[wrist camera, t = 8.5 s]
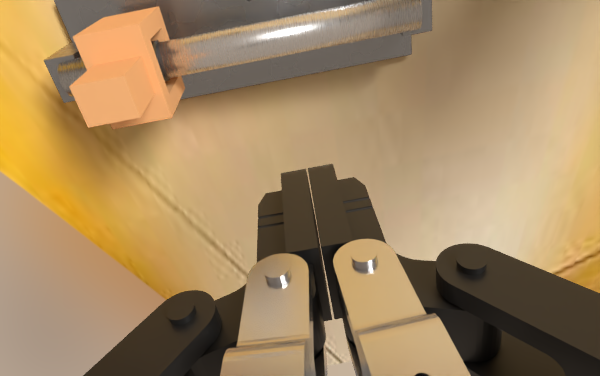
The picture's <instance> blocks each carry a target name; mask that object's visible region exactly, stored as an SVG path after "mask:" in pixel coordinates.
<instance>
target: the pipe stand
mask: <svg viewBox="0 0 600 376" xmlns="http://www.w3.org/2000/svg"><path fill="white" fill-rule="evenodd" d="M54 2H55V4H56V6H57V8H58V11H59V13H60V15H61V18H62V20H63V22H64V24H65V27H66V29H67V31H68V34H69V36H70V38H71V40H72V42H71V43H70V44H68V45H67V46H65V47H64V48H62V49H60V50H59V51H57V52H56V53H54V54H53V55H51V56H50V57H48V58H47V59H45V60H44V62H45V64H46V66H47V68H48V70H49V73H50V75H51V77H52V79H53V81H54V83H55V85H56V87H57V89H58V91H59V93H60V95H61V98H62V100H63V102H64V103H65V102H70V101H75V98H74V96H73V94H72V92H71V90H70V87H69V86H70V85H72V84H73V83H74V82H75V81H76V80H77V79H78V78H80V77H81V76H82V75H83V74H84V73H85V72H86V71H87V69H86V67H85V65H84V62H83V60H82V58H81V56H80V53H79V51H78V49H77V46H76V44H75V42H74V39H73V36H75V35H76V34H78V33H79V32H81V31H83V30H84V29H86V28H87V27H89V26H90V25H92V24H94V23H95V22H97V21H98V20H100V19H102V18H103V17H108V16H113V15H118V14H123V13H128V12H133V11H138V10H143V9H148V8H153V7H158V6H159V8H160V11H161V14H162V17H163V20H164V23H165V27H166V30H167V33H168V36H169V39H170V40H167V41H162V42H159V41H158V40H155V41H151V43H152V46H153V49H154V52H155V55H156V58H157V60H158V63H159V66H160V69H161V72H162V75H163V78H164V81H169V79H170V78H173V77H178V76H182V79H183V83H184V86H185V90H184V92H183V94H182V96H181V99H185V98H190V97H195V96H200V95H205V94H211V93H216V92H221V91H226V90H231V89H236V88H241V87H247V86H252V85H257V84H262V83H267V82H272V81H277V80H282V79H288V78H293V77H298V76H303V75H308V74H313V73H318V72H324V71H329V70H334V69H339V68H344V67H349V66H354V65H360V64H365V63H370V62H375V61H380V60H385V59H390V58H395V57H401V56H406V55H411V54H412V47H411V35H412V34H418V33H423V32H428V31H432V0H54Z"/></svg>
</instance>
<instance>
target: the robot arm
mask: <svg viewBox="0 0 600 376" xmlns="http://www.w3.org/2000/svg"><path fill="white" fill-rule="evenodd" d="M308 172H309V178H310V184H311V190H312V196H313V202H314V208H315V214H316V219H315V214H314V209H313V204H312V198H311V193H310V188H309V183H308V177H307V172H306V169H302V170H297V171H291V172H286V173H281V184H282V191H277V192H271V193H266V194H265V196H264V197H263V199H262V200H261V202H260V203H259V205H258V240H257V263H256V264H255V265H254V266H253V267H252V269H251V270H250V272H249V274H248V277H247V284H246V285H244V286H243V287H242V288H240V289H239V290H237V291H235V292H233V293H231V294H229V295H227V296H224V297H222V298H220V299H217V300H215V301H214V300H213V298H212V297H211V296H210V295H209V294H208V293H206V292H203V291H198V290H192V291H185V292H182V293H179V294H176V295H174V296H172V297H171V298H169V299H167V300H166V301H165V302H164V303H162V304H161V305H160V306H159V307H158V308H157V309H156V310H155V311H154V312H152V313H151V314H150V315H149V316H148V317H147V318H146V319H145V320H144V321H143V322H142V323H140V324H139V325H138V326H137V327H136V328H135V329H134V330H133V331H132V332H131V333H129V334H128V335H127V336H126V337H125V338H124V339H123V340H122V341H121V342H120V343H119V344H117V346H115V347H114V348H113V349H112V350H111V351H110V352H109V353H108V354H106V355H105V356H104V357H103V358H102V359H101V360H100V361H99V362H98V363H97V364H96V365H94V366H93V367H92V368H91V369H90V370H89V371H88V372H87V373H86V374H85V375H84V376H327V358H326V347H325V339H326V334H325V327H324V321H328V320H332V316H331V310H330V304H329V298H328V292H327V285H326V279H325V273H324V267H323V261H322V255H323V260H324V265H325V270H326V276H327V281H328V286H329V291H330V297H331V302H332V307H333V312H334V318H335V319H339V318H343V323H344V328H345V333H346V338H347V344H348V349H349V352H350V356H351V359H352V363H353V366H354V370H355V373H356V376H600V293H597V292H595V291H592V290H590V289H588V288H585V287H583V286H580V285H578V284H576V283H573V282H571V281H568V280H566V279H563V278H561V277H559V276H556V275H554V274H551V273H549V272H547V271H544V270H542V269H539V268H537V267H535V266H532V265H530V264H527V263H525V262H522V261H520V260H518V259H515V258H513V257H510V256H508V255H506V254H503V253H501V252H498V251H496V250H493V249H491V248H489V247H486V246H482V245H478V244H458V245H454V246H451V247H449V248H447V249H445V250H444V251H442V252H441V253H440V254H439V256H438V258H437V260H436V261H422V260H413V259H408V258H405V257H402V256H400V255H398V254H396V253H395V251H394V250H393V249H392V248H391V247H390V246H389V245H388V244H387V243H386V241H385V239H384V236H383V233H382V231H381V228H380V225H379V222H378V220H377V217H376V214H375V211H374V209H373V207H372V203H371V201H370V199H369V195H368V192H367V190H366V187H365V185H364V184H362V183H361V182H360V181H358V180H357V179H356V178H354V177H353V178H348V179H342V180H337V178H336V174H335V170H334V167H333V164H329V165H323V166H318V167H313V168H308ZM316 220H317V225H316ZM317 226H318V231H317ZM318 232H319V237H318ZM319 238H320V243H319ZM320 244H321V249H322V255H321V249H320Z"/></svg>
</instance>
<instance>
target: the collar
mask: <svg viewBox="0 0 600 376" xmlns="http://www.w3.org/2000/svg"><path fill="white" fill-rule="evenodd" d="M73 39H74V42H75V44H76V46H77V49H78V51H79V53H80V56H81V58H82V60H83V62H84V65H85V67H86V69H87V71H86V72H85V73H84V74H83V75H82V76H81V77H80V78H78V79H77V80H76V81H75V82H74V83H73V84H72V85H70V86H69V87H70V90H71V92H72V94H73V96H74V98H75V100H76V103H77V105H78V107H79V109H80V111H81V113H82V115H83V118H84V120H85V122H86V124H87V126H88V128H89V127H94V126H99V125H104V124H109V123H110V125H111V127H112V129H117V128H122V127H128V126H133V125H138V124H143V123H148V122H153V121H159V120H164V119H169V118H172V117H173V114H174V112H175V110H176V108H177V105H178V103H179V101H180V99H181V96H182V94H183V92H184V90H185V86H184V83H183V79H182V76H178V77H173V78H170V79H169V81H164V78H163V75H162V72H161V69H160V66H159V63H158V60H157V58H156V55H155V52H154V49H153V46H152V43H151V41H155V40H158V41H159V42H162V41H167V40H170V39H169V36H168V33H167V30H166V27H165V23H164V20H163V17H162V14H161V11H160V8H159V6H158V7H153V8H148V9H143V10H138V11H133V12H128V13H123V14H118V15H113V16H108V17H103V18H102V19H100V20H98V21H97V22H95V23H94V24H92V25H90V26H89V27H87V28H86V29H84V30H83V31H81V32H79V33H78V34H76V35H75V36H73Z"/></svg>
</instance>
